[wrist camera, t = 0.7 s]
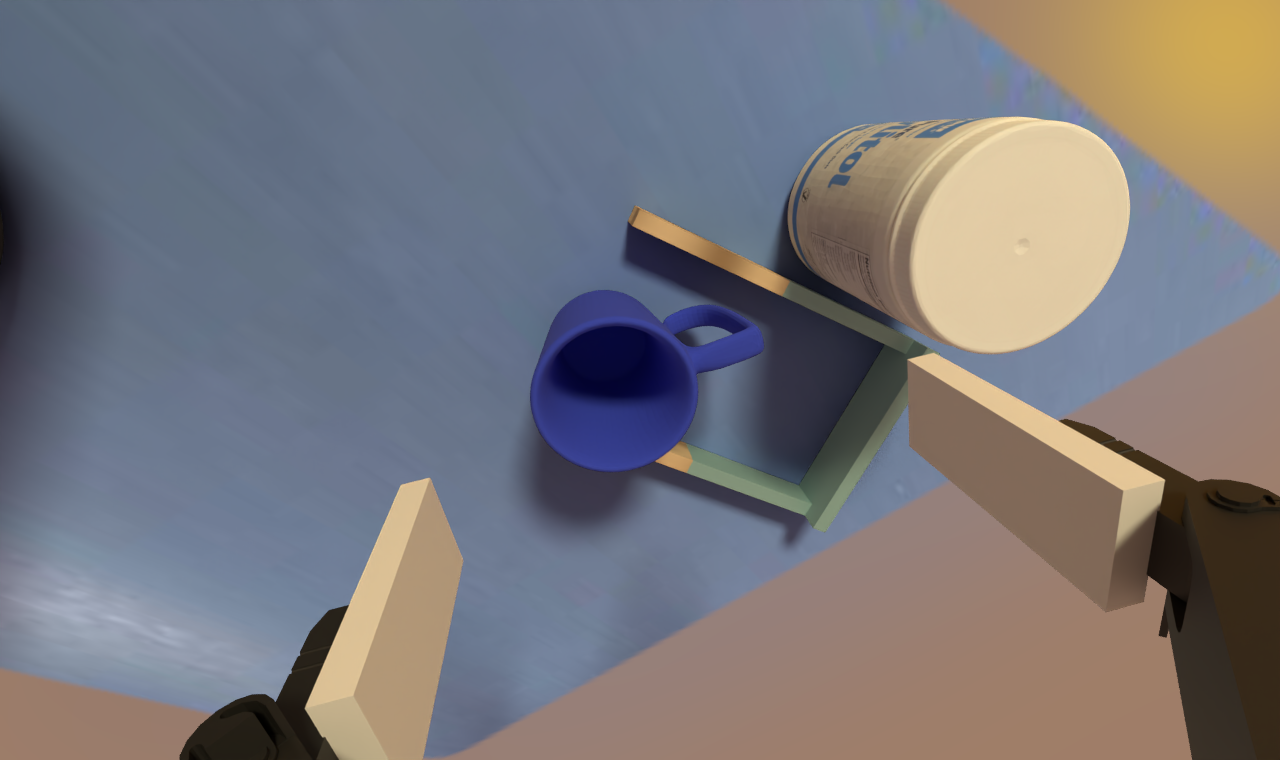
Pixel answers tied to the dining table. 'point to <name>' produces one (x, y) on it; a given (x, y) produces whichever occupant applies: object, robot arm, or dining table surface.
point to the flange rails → (715, 255)
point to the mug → (627, 378)
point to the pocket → (851, 435)
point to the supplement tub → (965, 224)
